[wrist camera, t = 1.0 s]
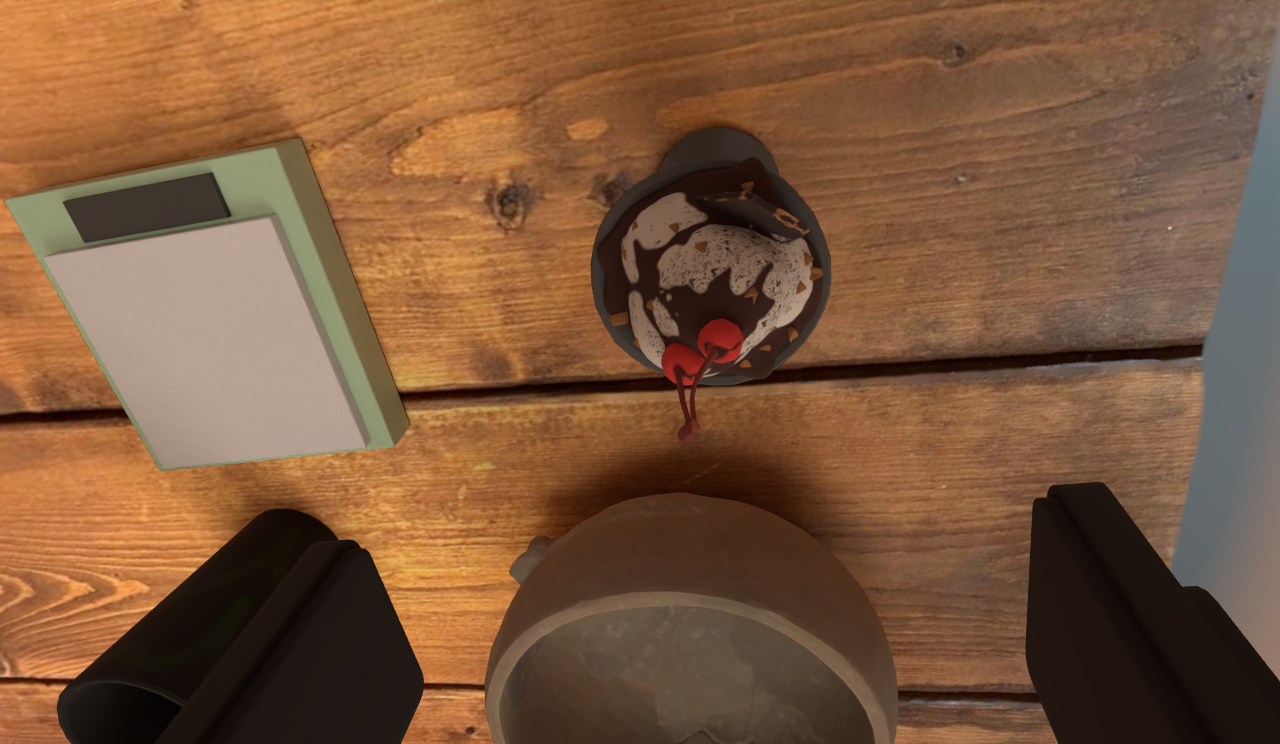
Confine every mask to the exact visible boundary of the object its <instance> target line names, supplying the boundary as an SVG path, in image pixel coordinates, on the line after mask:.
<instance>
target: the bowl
mask: <svg viewBox="0 0 1280 744" xmlns="http://www.w3.org/2000/svg"><path fill="white" fill-rule="evenodd" d="M509 573H510V575H511V576H512V577H513V578H514V579H515V580H516V581H517V582H518V583H519V584H520V585H521V587H520V588H519V589H518V591H517V593H516V595H515V597H514V598H513V600H512V602H511V604H510V606H509V608H508V610H507V612H506V614H505V617H504V619H503V622H502V625H501V627H500V630H499V632H498V634H497V636H496V638H495V640H494V643H493V646H492V648H491V652H490V657H489V662H488V667H487V673H486V678H485V707H486V713H487V719H488V724H489V728H490V732H491V735H492V739H493V742H494V744H894V741H895V735H896V726H897V715H898V687H897V678H896V670H895V666H894V662H893V658H892V654H891V650H890V647H889V644H888V641H887V638H886V635H885V632H884V629H883V626H882V623H881V621H880V620H879V618H878V616H877V614H876V612H875V610H874V608H873V606H872V604H871V602H870V601H869V599H868V598H867V596H866V594H865V593H864V591H863V589H862V588H861V587H860V585H859V584H858V582H857V581H856V580H855V579H854V577H853V576H852V575H851V573H850V572H849V571H848V570H847V569H846V568H845V567H844V566H843V565H842V564H841V563H840V562H839V560H838V559H837V558H836V557H835V556H834V555H833V554H832V553H831V552H829V551H828V550H827V549H826V548H825V547H824V546H823V545H822V544H821V543H819V542H818V541H817V540H815V539H814V538H813V537H811V536H810V535H809V534H807V533H806V532H805V531H803V530H802V529H800V528H799V527H797V526H795V525H793V524H792V523H790V522H788V521H786V520H785V519H783V518H781V517H779V516H777V515H775V514H773V513H770V512H768V511H765V510H763V509H760V508H758V507H755V506H753V505H750V504H747V503H743V502H739V501H734V500H727V499H720V498H713V497H706V496H700V495H695V494H690V493H680V492H678V493H668V494H658V495H650V496H644V497H637V498H633V499H629V500H625V501H623V502H620V503H618V504H615V505H612V506H610V507H607V508H606V509H604V510H603V511H601V512H600V513H598V514H596V515H594V516H592V517H590V518H588V519H587V520H585V521H583V522H581V523H579V524H577V525H576V526H575V527H574V528H572V529H571V530H570V531H569V532H568V533H566V534H565V535H563V536H561V537H559V538H557V539H555V540H554V539H550V538H548V537H546V536H536V537H535V538H534V539H533V540H532V541H531V542H530V544H529V547H528V549H527V551H526V552H525V553H523V554H522V555H521V556H520V557H519V558H517V559H516V560H515V561H514V562H513V564H512V566H511V569H510V571H509Z"/></svg>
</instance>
